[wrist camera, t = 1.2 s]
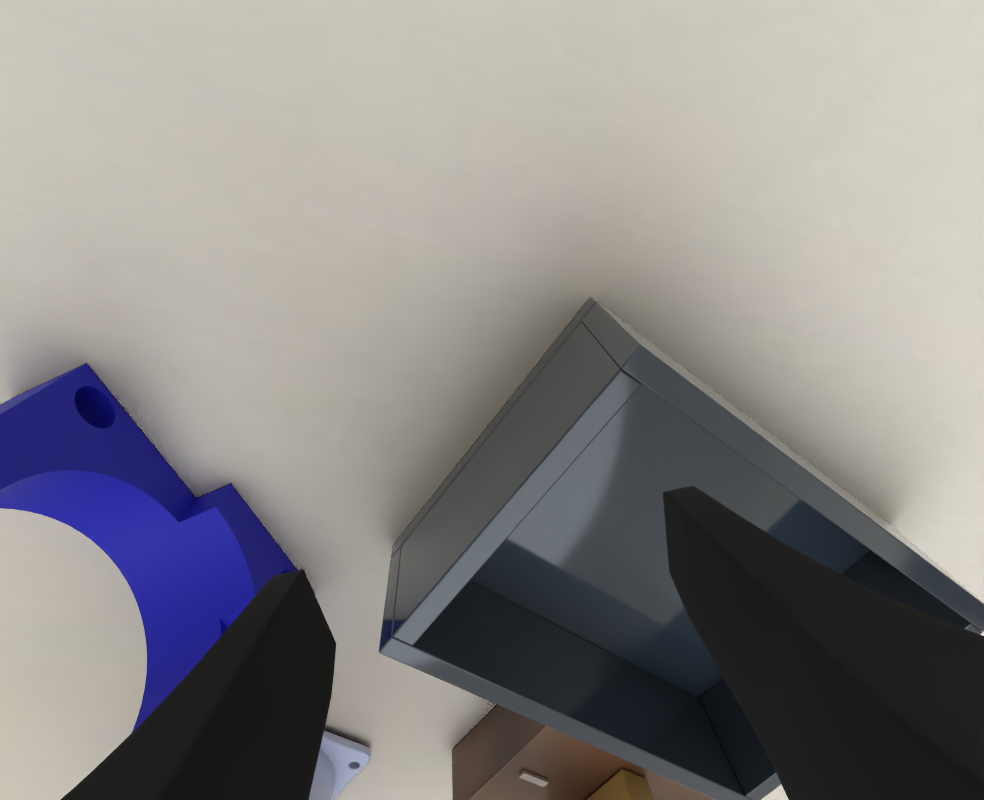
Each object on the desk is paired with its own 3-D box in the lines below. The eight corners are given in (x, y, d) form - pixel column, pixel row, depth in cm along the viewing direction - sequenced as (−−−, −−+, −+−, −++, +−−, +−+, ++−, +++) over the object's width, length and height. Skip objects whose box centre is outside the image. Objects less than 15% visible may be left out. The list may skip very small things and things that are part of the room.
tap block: (605, 819, 31) (621, 886, 29) (444, 757, 28) (444, 825, 25) (719, 723, 29) (750, 787, 26) (557, 642, 26) (572, 705, 23)
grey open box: (692, 698, 28) (744, 813, 23) (391, 546, 23) (377, 652, 18) (891, 525, 24) (1002, 617, 19) (590, 295, 19) (640, 344, 14)
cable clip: (314, 592, 23) (275, 728, 18) (221, 631, 24) (154, 774, 18) (124, 345, 18) (-10, 426, 13) (11, 398, 19) (-165, 499, 13)
